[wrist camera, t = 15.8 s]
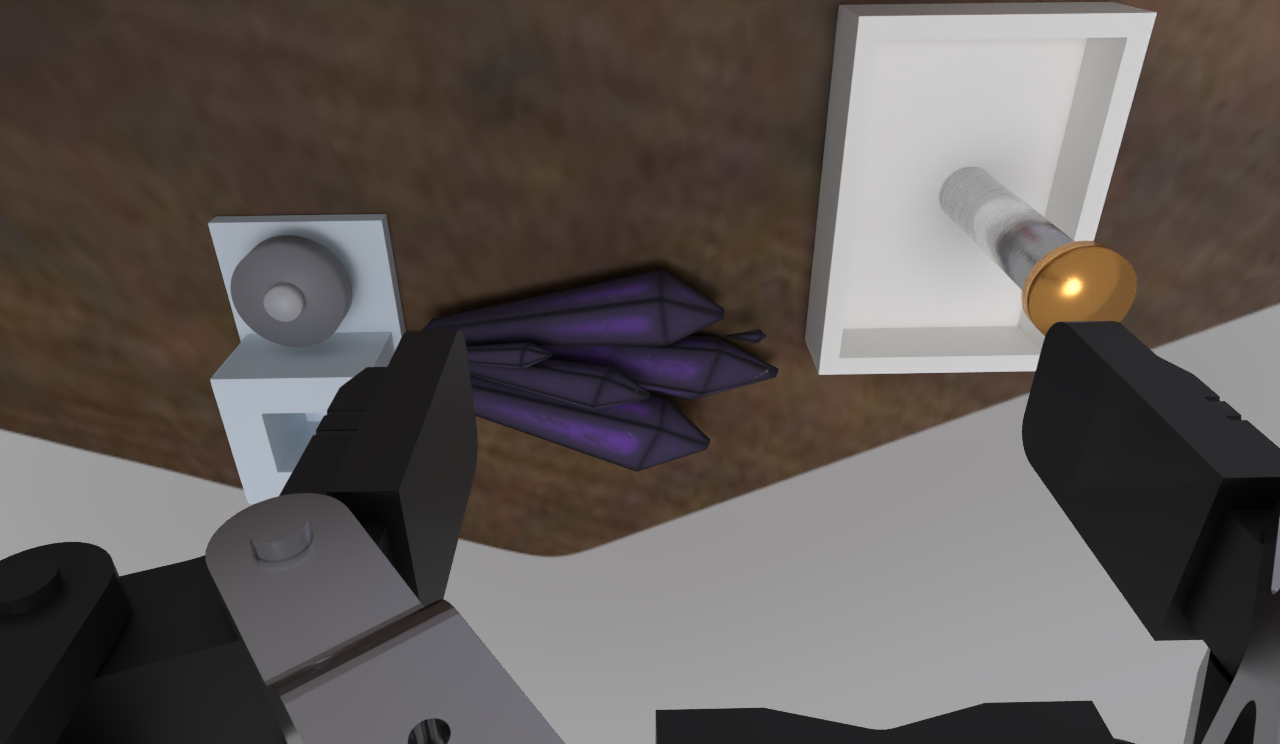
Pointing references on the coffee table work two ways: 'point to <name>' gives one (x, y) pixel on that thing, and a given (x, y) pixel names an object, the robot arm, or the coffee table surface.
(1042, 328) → the lock pin
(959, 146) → the tray
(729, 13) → the coffee table surface
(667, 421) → the crystal
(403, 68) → the coffee table surface
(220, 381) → the tensioner bracket
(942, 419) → the coffee table surface
